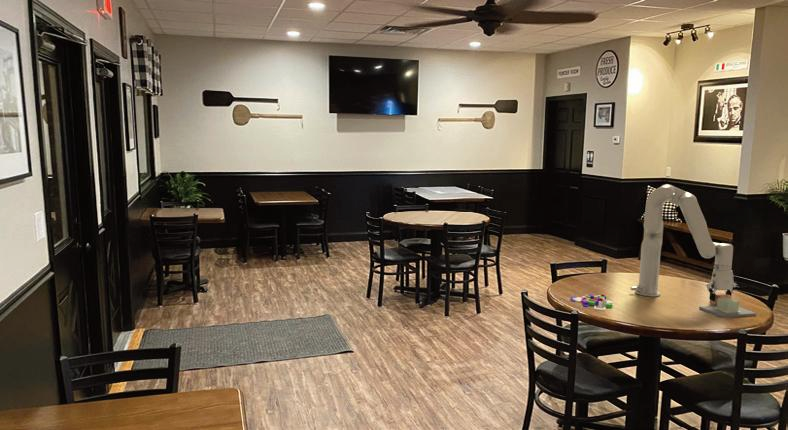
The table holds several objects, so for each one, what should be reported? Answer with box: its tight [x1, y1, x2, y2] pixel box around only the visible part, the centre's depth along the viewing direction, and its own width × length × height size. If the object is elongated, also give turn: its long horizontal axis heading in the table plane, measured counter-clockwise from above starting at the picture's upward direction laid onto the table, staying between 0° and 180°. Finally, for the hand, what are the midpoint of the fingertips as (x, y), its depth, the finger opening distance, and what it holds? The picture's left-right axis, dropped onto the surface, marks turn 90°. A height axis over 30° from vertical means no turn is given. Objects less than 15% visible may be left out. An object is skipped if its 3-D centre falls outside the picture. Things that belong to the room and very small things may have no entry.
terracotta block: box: [709, 292, 732, 305], centre depth 293 cm, size 6×6×5 cm
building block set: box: [569, 293, 614, 312], centre depth 291 cm, size 25×20×4 cm
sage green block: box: [716, 297, 740, 312], centre depth 278 cm, size 6×6×5 cm
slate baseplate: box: [698, 305, 757, 318], centre depth 278 cm, size 20×14×1 cm
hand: (720, 299), depth 293 cm, fingers open, 9 cm apart
